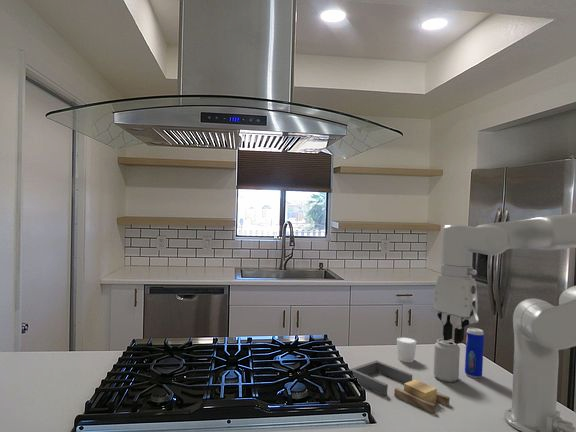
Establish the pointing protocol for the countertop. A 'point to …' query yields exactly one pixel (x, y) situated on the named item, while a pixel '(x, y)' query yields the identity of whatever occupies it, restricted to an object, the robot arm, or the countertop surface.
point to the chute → (421, 400)
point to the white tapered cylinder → (406, 349)
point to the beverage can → (474, 352)
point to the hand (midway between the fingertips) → (453, 340)
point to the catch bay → (383, 368)
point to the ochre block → (421, 390)
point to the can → (446, 360)
